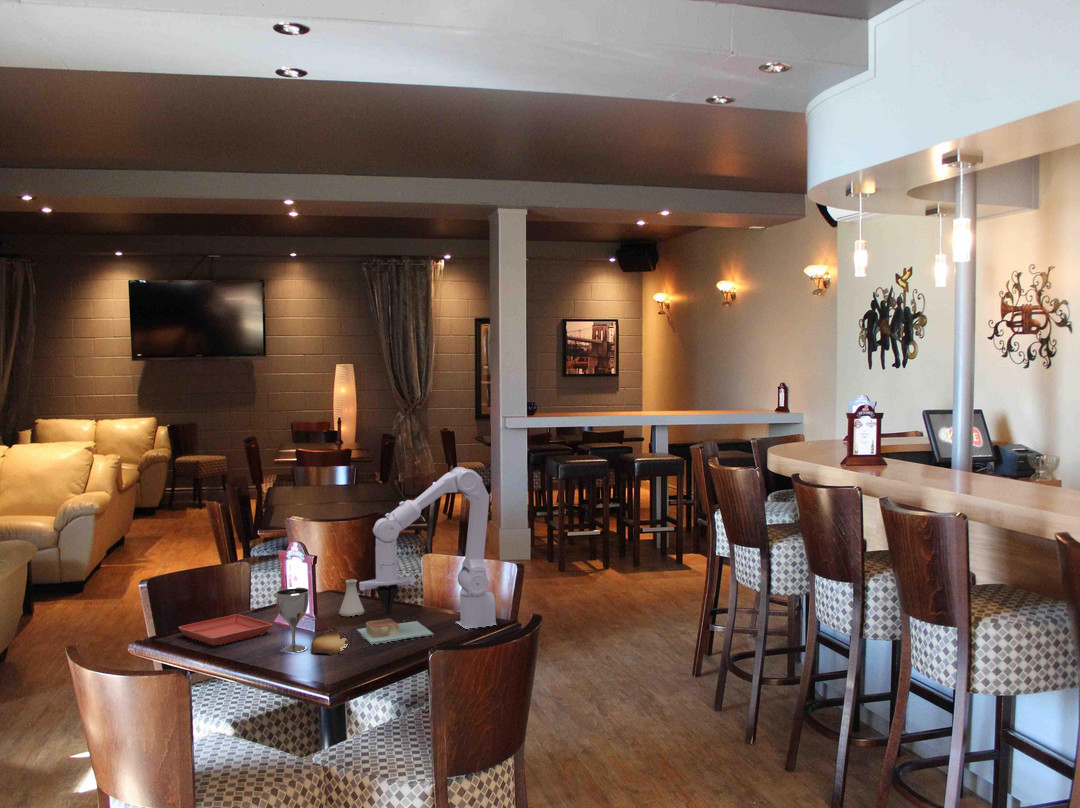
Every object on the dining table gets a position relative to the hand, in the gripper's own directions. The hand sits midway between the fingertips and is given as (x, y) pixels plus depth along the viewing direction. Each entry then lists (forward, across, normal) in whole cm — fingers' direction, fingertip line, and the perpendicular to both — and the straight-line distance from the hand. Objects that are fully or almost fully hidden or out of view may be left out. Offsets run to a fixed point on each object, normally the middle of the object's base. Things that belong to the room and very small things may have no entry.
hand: (387, 613), depth 239 cm
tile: (+4, -2, 0) cm, 4 cm away
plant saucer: (+6, +39, -21) cm, 45 cm away
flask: (+6, +3, -27) cm, 28 cm away
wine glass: (+6, +25, +1) cm, 26 cm away
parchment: (+6, +15, -1) cm, 16 cm away
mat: (+6, -2, 0) cm, 6 cm away
